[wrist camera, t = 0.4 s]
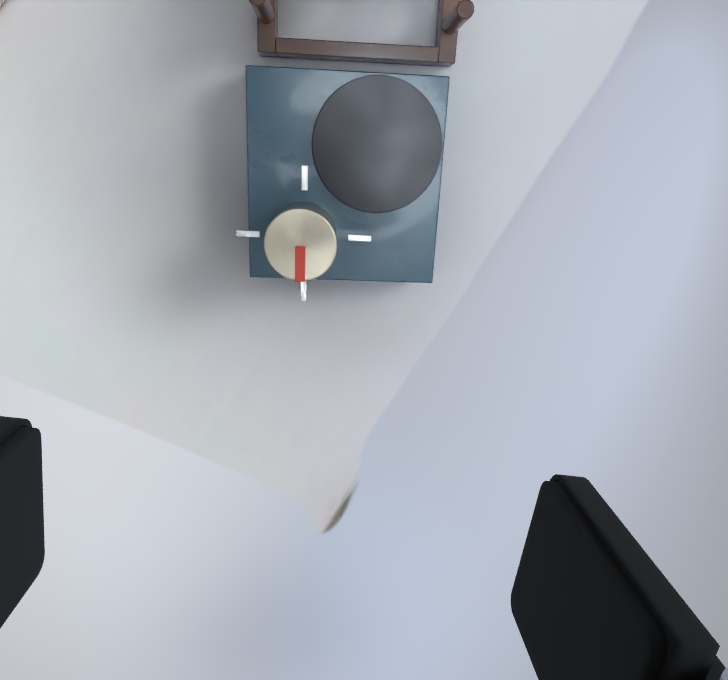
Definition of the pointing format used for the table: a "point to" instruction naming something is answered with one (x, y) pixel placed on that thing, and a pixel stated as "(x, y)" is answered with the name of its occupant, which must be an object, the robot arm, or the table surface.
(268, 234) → the hob knob
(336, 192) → the hotplate
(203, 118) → the table surface
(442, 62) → the dish rack
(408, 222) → the hob
